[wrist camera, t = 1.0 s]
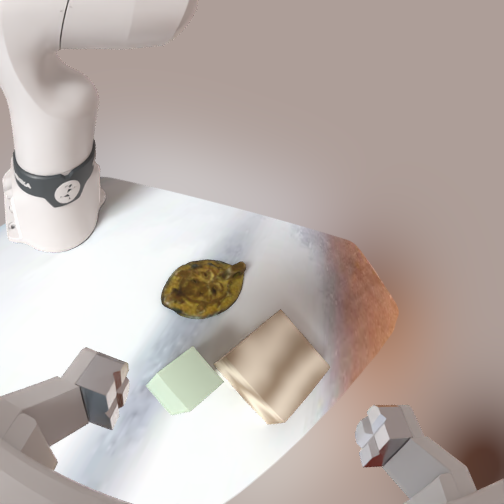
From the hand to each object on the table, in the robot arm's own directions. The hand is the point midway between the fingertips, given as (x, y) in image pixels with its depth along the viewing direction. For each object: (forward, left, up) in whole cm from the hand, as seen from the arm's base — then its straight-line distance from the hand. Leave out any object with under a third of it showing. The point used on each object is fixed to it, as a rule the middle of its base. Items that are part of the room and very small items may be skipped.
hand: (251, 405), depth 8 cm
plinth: (+6, +19, -31) cm, 37 cm away
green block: (-1, +6, -31) cm, 31 cm away
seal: (-10, +20, -31) cm, 38 cm away
